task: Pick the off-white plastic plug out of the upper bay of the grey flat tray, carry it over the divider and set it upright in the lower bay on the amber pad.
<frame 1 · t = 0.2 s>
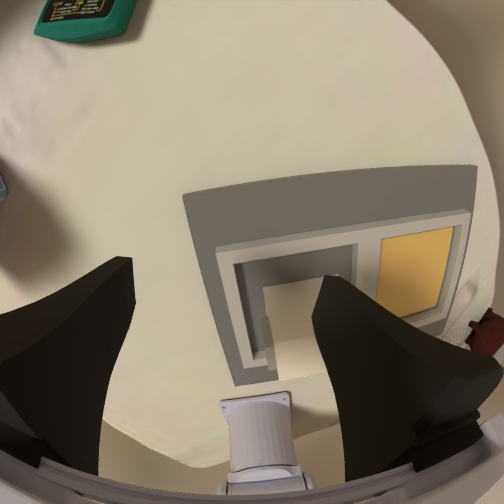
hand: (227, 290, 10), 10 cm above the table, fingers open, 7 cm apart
mate gourd: (477, 322, 29), on the table
grey flat tray: (358, 285, 23), on the table
plug: (302, 301, 23), resting on grey flat tray
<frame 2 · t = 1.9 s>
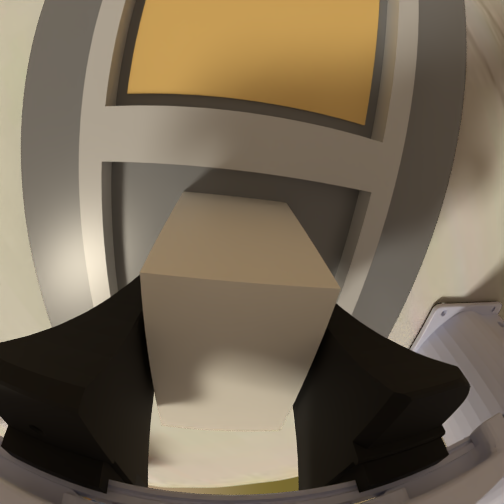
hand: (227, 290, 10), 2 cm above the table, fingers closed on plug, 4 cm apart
grey flat tray: (242, 138, 10), on the table
plug: (226, 265, 12), resting on grey flat tray, touching gripper
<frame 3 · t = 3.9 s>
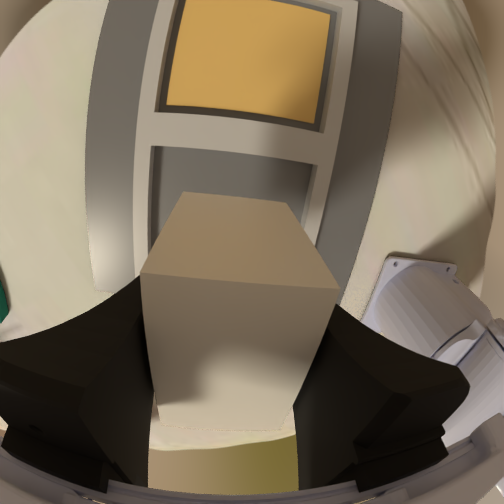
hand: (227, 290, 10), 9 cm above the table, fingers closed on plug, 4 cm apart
grey flat tray: (237, 134, 16), on the table
plug: (226, 265, 12), point 7 cm above the table, touching gripper
when the fingers open (4 cm above the table, at t = 6.5 s): plug stays where it is, resting on grey flat tray.
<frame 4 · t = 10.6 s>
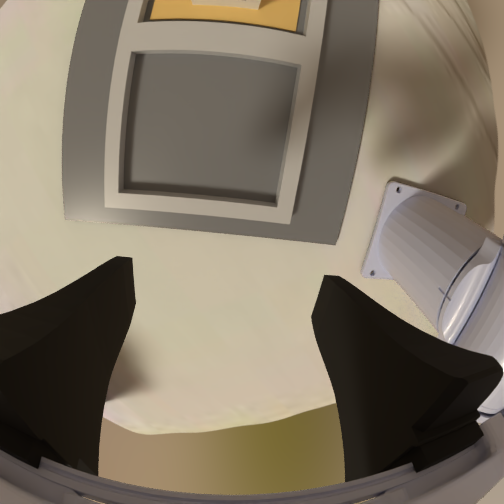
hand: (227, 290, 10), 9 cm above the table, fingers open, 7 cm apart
grey flat tray: (218, 43, 14), on the table
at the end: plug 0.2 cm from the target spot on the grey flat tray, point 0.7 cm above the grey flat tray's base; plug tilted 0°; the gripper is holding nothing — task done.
